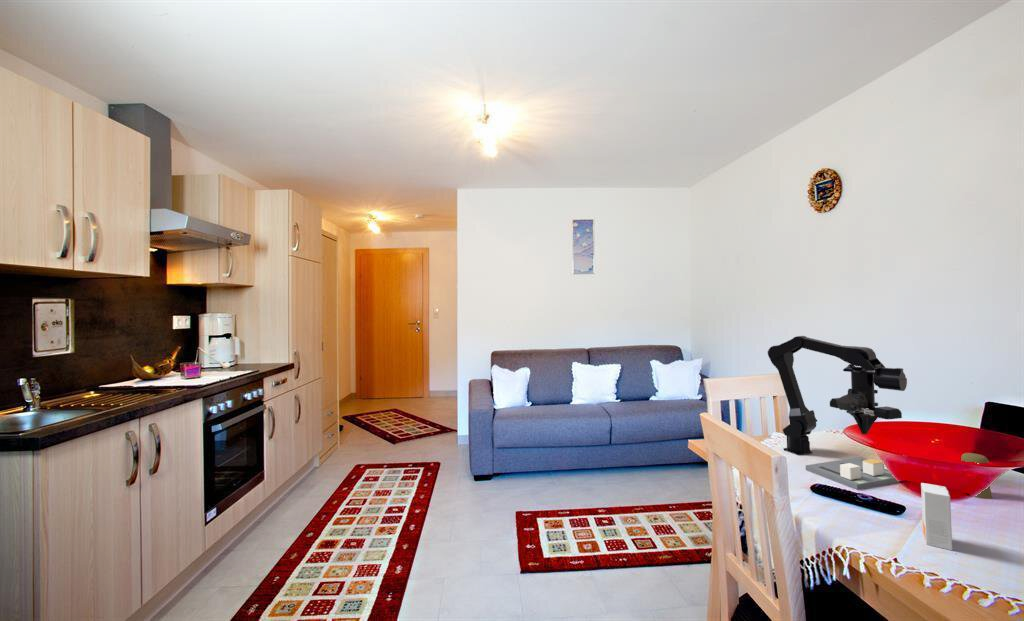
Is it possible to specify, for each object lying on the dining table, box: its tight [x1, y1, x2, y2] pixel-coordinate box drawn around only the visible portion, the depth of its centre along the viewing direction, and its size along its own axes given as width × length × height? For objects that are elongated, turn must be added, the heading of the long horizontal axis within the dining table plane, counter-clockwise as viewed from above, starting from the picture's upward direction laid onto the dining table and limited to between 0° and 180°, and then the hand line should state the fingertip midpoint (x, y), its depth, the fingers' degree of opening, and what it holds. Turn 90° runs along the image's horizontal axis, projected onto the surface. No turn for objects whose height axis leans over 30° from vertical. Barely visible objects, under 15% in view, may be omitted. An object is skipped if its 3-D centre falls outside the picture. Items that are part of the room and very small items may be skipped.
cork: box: [960, 452, 993, 500], centre depth 117 cm, size 6×6×11 cm
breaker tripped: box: [863, 458, 884, 476], centre depth 128 cm, size 3×4×4 cm
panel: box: [805, 456, 899, 491], centre depth 132 cm, size 16×24×2 cm, turn 105°
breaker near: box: [840, 463, 861, 480], centre depth 126 cm, size 3×4×4 cm
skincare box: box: [920, 482, 953, 551], centre depth 94 cm, size 6×4×12 cm
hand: (864, 434), depth 136 cm, fingers closed
